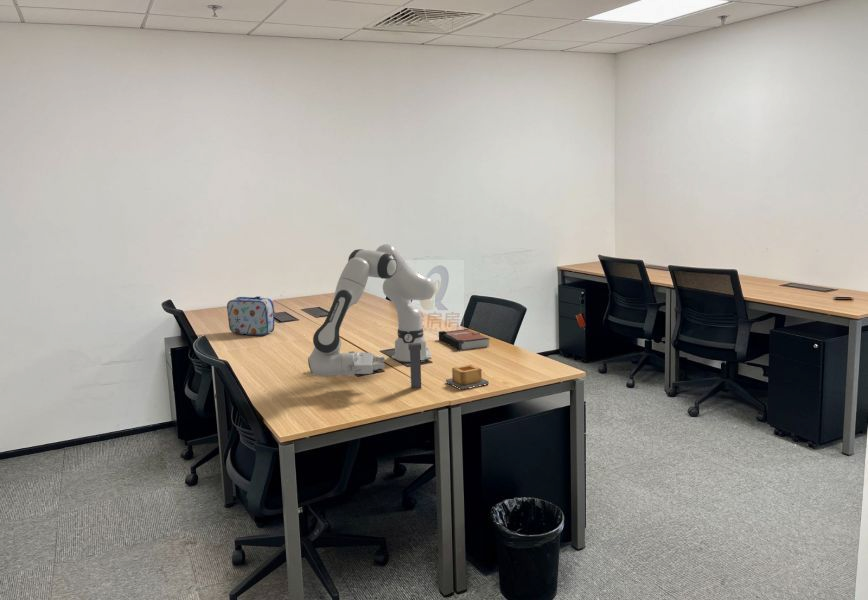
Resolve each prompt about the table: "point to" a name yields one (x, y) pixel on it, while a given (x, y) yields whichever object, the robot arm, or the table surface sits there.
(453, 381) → the frame on grey plate
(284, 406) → the table surface
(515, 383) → the table surface
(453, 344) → the book
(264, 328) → the lunch box
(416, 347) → the tall dark grey post
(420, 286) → the robot arm
